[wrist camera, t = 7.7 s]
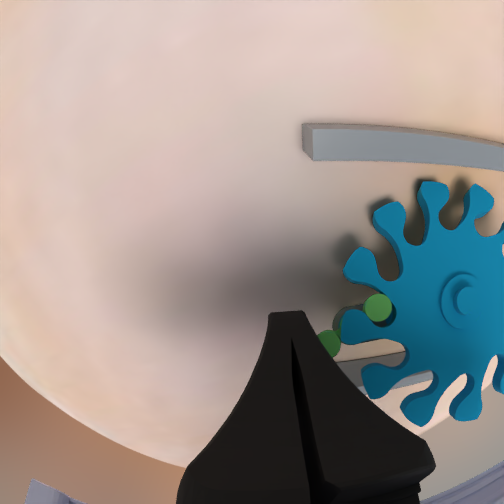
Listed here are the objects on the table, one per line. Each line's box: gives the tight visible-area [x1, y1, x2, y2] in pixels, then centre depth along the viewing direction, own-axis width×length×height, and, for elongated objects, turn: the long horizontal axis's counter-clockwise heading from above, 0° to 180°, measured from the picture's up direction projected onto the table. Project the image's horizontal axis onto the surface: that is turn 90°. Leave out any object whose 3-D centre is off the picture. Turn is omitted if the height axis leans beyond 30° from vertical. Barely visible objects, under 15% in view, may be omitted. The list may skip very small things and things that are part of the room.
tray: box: [302, 124, 504, 395], centre depth 12 cm, size 14×14×2 cm
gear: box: [317, 181, 504, 427], centre depth 11 cm, size 11×6×10 cm
